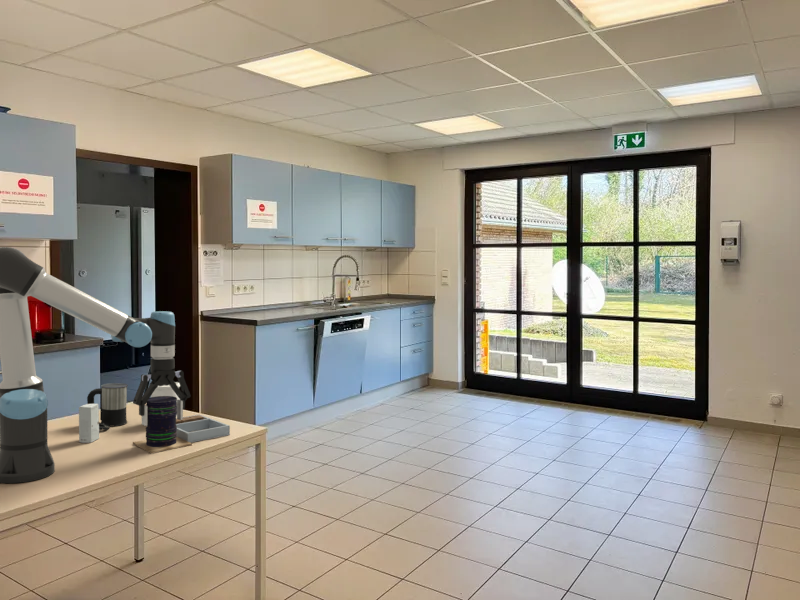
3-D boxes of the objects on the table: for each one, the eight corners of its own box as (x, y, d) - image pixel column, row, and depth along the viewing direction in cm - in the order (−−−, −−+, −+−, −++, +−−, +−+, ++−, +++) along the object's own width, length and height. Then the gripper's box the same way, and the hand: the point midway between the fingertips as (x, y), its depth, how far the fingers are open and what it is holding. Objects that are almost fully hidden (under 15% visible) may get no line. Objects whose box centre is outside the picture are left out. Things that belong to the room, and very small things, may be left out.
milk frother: (126, 419, 241) (126, 381, 240) (131, 429, 227) (131, 389, 226) (85, 423, 234) (84, 384, 233) (88, 433, 220) (88, 392, 219)
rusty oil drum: (139, 444, 207) (139, 399, 206) (162, 437, 215) (163, 394, 214) (159, 448, 202) (160, 403, 201) (183, 441, 211) (183, 398, 210)
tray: (187, 443, 211) (187, 433, 211) (158, 430, 226) (158, 421, 226) (229, 434, 223) (229, 425, 223) (199, 423, 238) (199, 414, 238)
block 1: (183, 431, 226) (183, 420, 226) (177, 429, 229) (177, 418, 229) (193, 429, 230) (193, 418, 229) (187, 427, 232) (187, 416, 232)
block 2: (193, 429, 230) (193, 418, 229) (189, 427, 232) (189, 416, 232) (203, 427, 232) (203, 417, 232) (199, 425, 235) (199, 415, 235)
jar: (186, 422, 239) (186, 383, 238) (163, 427, 231) (163, 387, 230) (168, 417, 245) (168, 380, 244) (145, 423, 236) (145, 384, 235)
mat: (151, 453, 199) (151, 451, 199) (132, 444, 209) (132, 442, 209) (192, 445, 209) (192, 443, 209) (172, 436, 219) (172, 434, 219)
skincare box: (91, 442, 209) (91, 407, 208) (78, 442, 209) (78, 407, 208) (99, 437, 215) (99, 403, 214) (86, 437, 215) (86, 403, 214)
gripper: (131, 362, 196) (131, 430, 197) (201, 355, 213) (200, 418, 215) (121, 359, 201) (121, 425, 203) (190, 353, 219) (190, 414, 220)
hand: (162, 422), depth 209 cm, fingers open, 12 cm apart
